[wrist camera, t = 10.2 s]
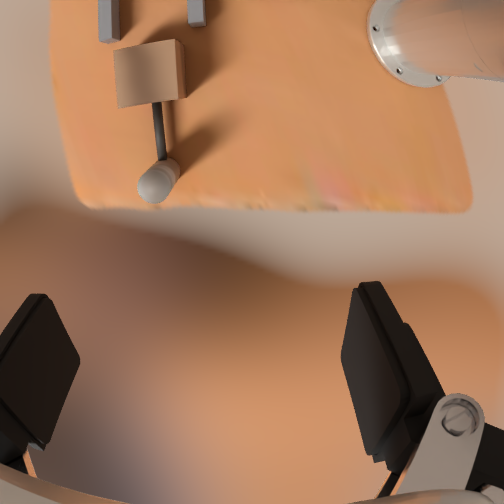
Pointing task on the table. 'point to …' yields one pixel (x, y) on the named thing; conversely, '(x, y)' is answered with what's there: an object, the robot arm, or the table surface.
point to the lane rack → (111, 22)
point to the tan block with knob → (153, 102)
